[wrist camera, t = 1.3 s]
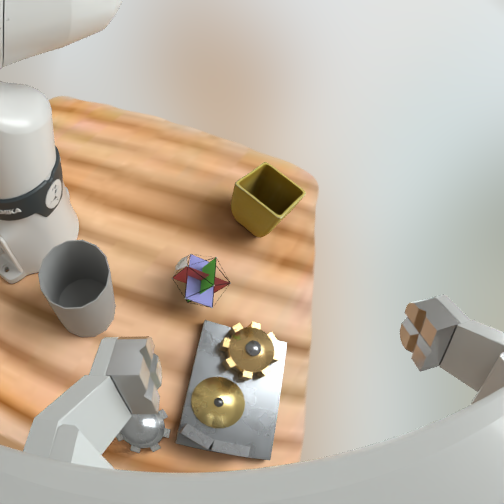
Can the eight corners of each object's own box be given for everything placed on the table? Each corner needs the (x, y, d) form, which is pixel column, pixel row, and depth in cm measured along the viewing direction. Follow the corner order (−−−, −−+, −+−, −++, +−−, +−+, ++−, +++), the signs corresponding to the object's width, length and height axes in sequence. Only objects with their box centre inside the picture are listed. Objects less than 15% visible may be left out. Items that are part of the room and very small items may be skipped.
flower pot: (259, 252, 51) (280, 218, 44) (219, 219, 52) (234, 182, 45) (285, 224, 57) (307, 192, 49) (248, 195, 58) (265, 160, 50)
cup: (48, 322, 34) (26, 290, 26) (72, 272, 38) (59, 230, 31) (103, 346, 35) (92, 321, 27) (124, 293, 40) (121, 255, 32)
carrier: (175, 442, 31) (178, 444, 28) (203, 322, 41) (208, 313, 39) (266, 459, 33) (277, 461, 31) (283, 344, 44) (294, 337, 41)
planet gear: (108, 441, 29) (94, 446, 20) (121, 391, 33) (112, 378, 24) (162, 458, 30) (169, 469, 21) (174, 408, 34) (184, 401, 25)
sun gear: (211, 374, 38) (218, 368, 35) (223, 323, 42) (230, 313, 39) (266, 387, 39) (277, 382, 36) (273, 337, 44) (284, 328, 41)
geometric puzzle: (237, 269, 45) (215, 237, 39) (236, 312, 42) (211, 286, 35) (193, 276, 47) (167, 248, 41) (189, 317, 43) (159, 293, 37)
